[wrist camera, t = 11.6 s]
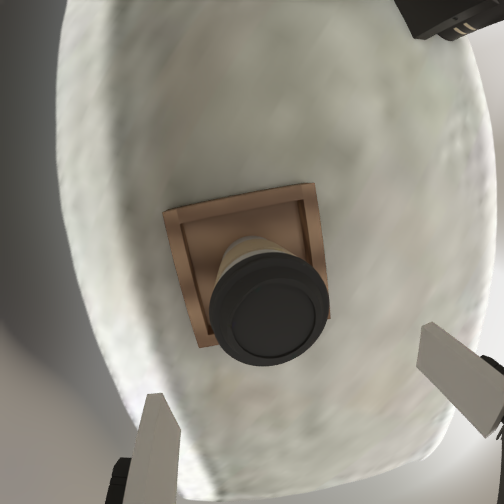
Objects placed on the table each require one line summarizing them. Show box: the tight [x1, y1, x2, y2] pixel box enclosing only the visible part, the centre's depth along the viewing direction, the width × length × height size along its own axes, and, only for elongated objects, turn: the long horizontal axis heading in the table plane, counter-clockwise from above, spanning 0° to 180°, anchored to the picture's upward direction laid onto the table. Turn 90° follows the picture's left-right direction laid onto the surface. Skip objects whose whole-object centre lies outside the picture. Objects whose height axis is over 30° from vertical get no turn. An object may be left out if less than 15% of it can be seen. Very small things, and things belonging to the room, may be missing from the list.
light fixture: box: [394, 0, 504, 41], centre depth 20 cm, size 10×14×18 cm
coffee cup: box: [209, 236, 329, 366], centre depth 26 cm, size 9×9×15 cm
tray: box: [163, 183, 331, 348], centre depth 32 cm, size 16×16×4 cm
